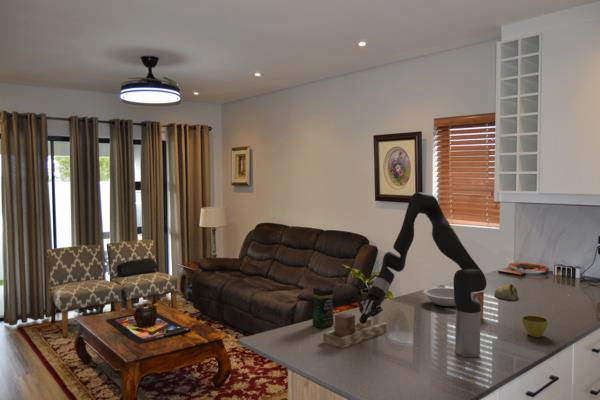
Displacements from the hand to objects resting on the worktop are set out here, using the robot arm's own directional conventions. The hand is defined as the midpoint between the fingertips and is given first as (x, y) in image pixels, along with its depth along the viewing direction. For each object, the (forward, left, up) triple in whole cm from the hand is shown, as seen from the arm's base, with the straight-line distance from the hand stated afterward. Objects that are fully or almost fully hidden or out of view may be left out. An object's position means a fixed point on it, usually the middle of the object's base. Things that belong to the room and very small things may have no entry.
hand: (361, 322), depth 206 cm
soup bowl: (+50, -50, -6) cm, 71 cm away
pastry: (+66, -89, -6) cm, 111 cm away
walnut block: (-8, +8, -4) cm, 12 cm away
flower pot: (+2, -75, -6) cm, 76 cm away
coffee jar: (+13, +17, -6) cm, 22 cm away
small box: (+28, -57, -6) cm, 64 cm away
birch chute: (-3, +3, -5) cm, 7 cm away
